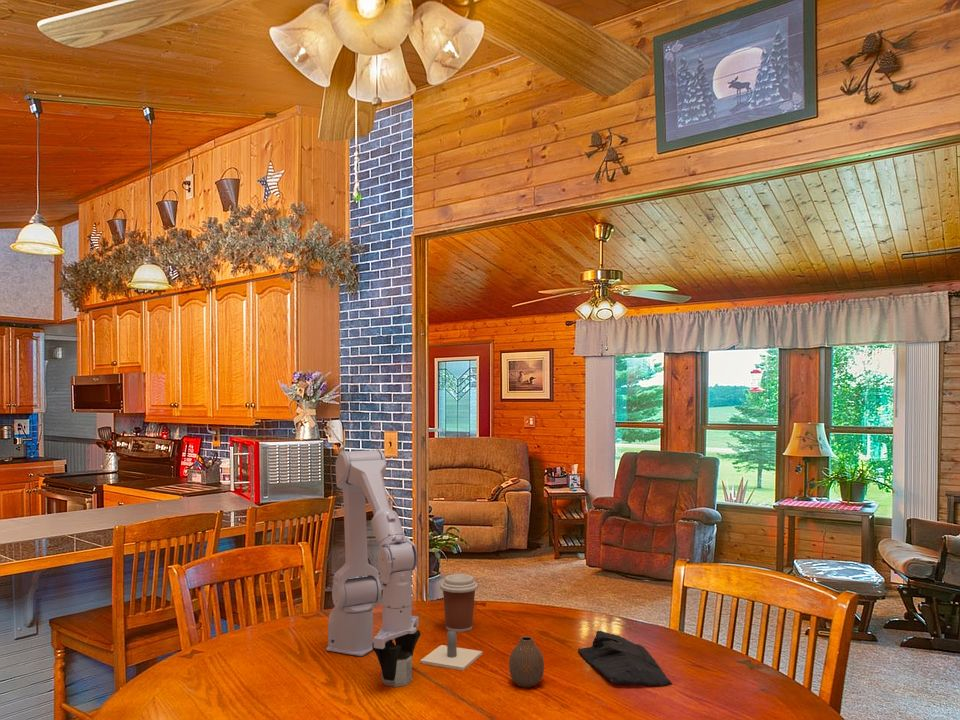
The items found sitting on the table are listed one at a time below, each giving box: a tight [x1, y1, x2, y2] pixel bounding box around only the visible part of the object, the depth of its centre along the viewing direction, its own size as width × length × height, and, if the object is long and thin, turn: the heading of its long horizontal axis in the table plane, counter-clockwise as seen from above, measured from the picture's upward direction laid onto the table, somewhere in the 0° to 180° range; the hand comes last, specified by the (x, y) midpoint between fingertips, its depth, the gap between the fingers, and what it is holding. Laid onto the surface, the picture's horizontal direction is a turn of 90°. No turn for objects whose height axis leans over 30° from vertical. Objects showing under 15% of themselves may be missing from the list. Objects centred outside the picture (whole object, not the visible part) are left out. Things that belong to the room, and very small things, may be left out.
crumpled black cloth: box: [577, 630, 673, 687], centre depth 152 cm, size 15×22×5 cm
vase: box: [508, 635, 545, 688], centre depth 143 cm, size 7×7×9 cm
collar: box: [381, 650, 413, 688], centre depth 144 cm, size 6×6×5 cm
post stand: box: [419, 630, 483, 671], centre depth 156 cm, size 10×10×6 cm
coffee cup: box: [439, 573, 479, 633], centre depth 177 cm, size 9×9×12 cm
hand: (396, 673), depth 144 cm, fingers closed on collar, 5 cm apart
